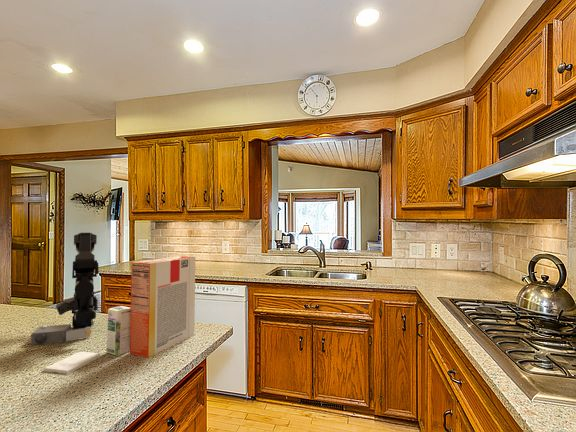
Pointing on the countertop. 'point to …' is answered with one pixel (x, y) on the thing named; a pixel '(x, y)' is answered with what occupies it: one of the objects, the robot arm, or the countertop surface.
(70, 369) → the external hard drive
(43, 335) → the camera block
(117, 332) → the syrup box
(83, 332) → the side door
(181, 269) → the cereal box
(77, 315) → the robot arm
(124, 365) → the countertop surface
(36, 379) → the countertop surface
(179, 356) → the countertop surface
